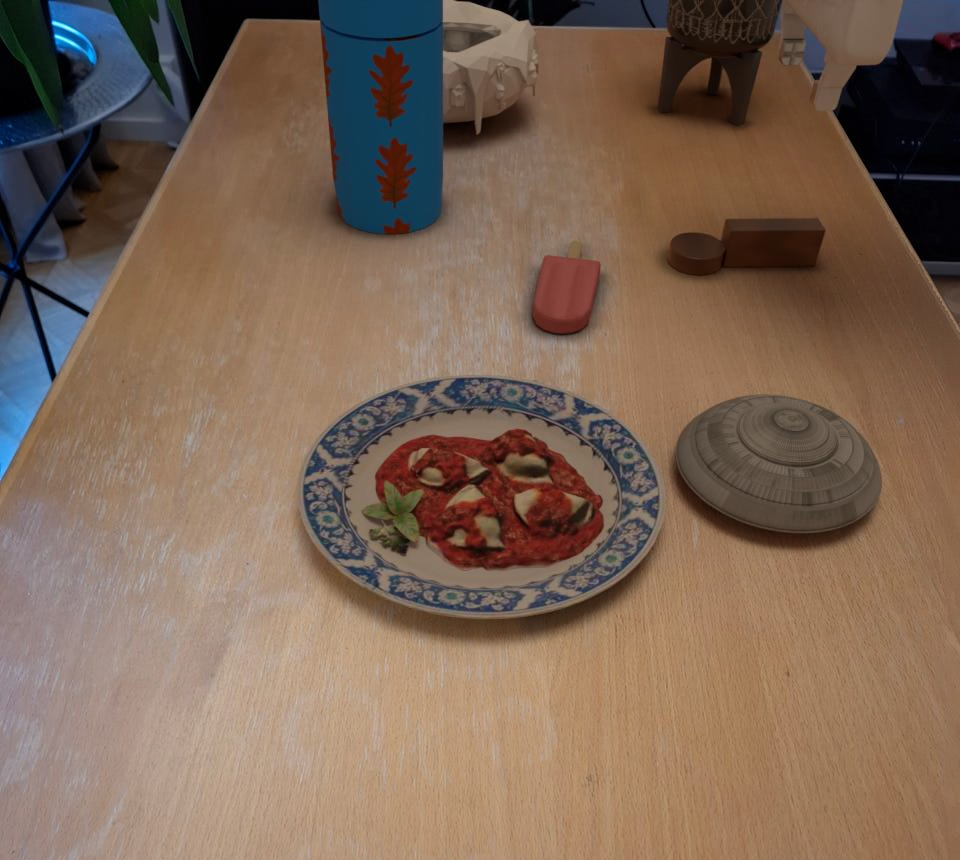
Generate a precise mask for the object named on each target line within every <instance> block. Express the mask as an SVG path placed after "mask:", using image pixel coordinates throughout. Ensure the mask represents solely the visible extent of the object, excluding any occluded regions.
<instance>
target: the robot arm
mask: <svg viewBox="0 0 960 860" xmlns="http://www.w3.org/2000/svg"><path fill="white" fill-rule="evenodd" d="M903 3H904V0H783V1H782V5H781V8H780V40H779V44H778V48H777V51H776V52H777V53H776V57H777V59H778V60H779V62H780V63H781V64H782V65H783V66H785V67H789V66H792V67H797V66H799V65H801V63H802V62H803V59H804V53H805V51H806V46H807V41H806V40H805V35H806V28H808V29H809V31H810V32H811V34H813V36H814V38H816V39H817V40H818V42H819V43H820V44H821V45H822V46H823V48H824V49H825V54H824V56H823V57H824V58H823V63H824V64H825V65H824V68H823V69H822V73H821V74H820V76H819V79H814V81H813V85H812V89H811V94H810V95H809V96H810V97H809V102H810V104H811V105H812V107H813V108H814V109H815V110H816V111H817V112H833V111H835V110H836V108H837V107H838V104H839V101H840V97H841V94H842V91H843V88H844V87H845V86H846V84H847V82H848V81H849V79H850V78H851V76H852V75H853V74H854V72H855V70H856V69H857V66H876V65H879V64H881V63H882V62H883V61H884V60H885V58H886V57H887V55H888V54H889V53H890V52H891V49H892V45H893V43H894V38H895V36H896V32H897V27H898V23H899V20H900V15H901V12H902V8H903Z"/></svg>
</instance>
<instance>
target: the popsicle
mask: <svg viewBox="0 0 960 860" xmlns="http://www.w3.org/2000/svg"><path fill="white" fill-rule="evenodd" d="M582 249H583V243H582V242H581V241H577V240H573V241H571V242H570V245H569V248H568V253H567V256H559V255H551V254H546V255H544V257H543V259H542V262H541V266H540V271H539V274H538V279H537V282H536V283H537V284H536V288H535V292H534V298H533V303H532V312H531V313H532V314H531V315H532V317H533V319H534V322H535V325H537V326H538V327H539V328H541V329H542V330H543V331H547V332H550V333H554V334H562V335H563V334H573V333H575V332H579V331H581V330H582V329H583V328H585V326H586V325H587V324H588V323H589V322H590V317H591V314H592V310H593V305H594V303H595V299H596V294H597V289H598V285H599V280H600V274H601V268H602V267H601V266H602V264H601V261H599V260H595V259H594V260H593V259H585V258H583V259H582V258H581V253H582Z"/></svg>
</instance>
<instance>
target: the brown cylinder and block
mask: <svg viewBox="0 0 960 860" xmlns="http://www.w3.org/2000/svg"><path fill="white" fill-rule="evenodd" d="M825 234H826V228H825V227H824V225H823V223H822V222H821V219H820V218H818V217H801V218H800V217H797V218H796V217H795V218H794V217H793V218H792V217H787V218H786V217H785V218H780V217H779V218H725V221H724V224H723V228H722V232H721V238H720V239H719V238H718V237H716V236H713V235H711V234H707V233H703V232H695V231H693V232H691V231H689V232H682V233H679V234H676V235H675V236H673V237H672V239H671V240H670V242H669V248H668V252H667V262H668V264H669V265H670V266H671V267H672V268H673V269H675V270H677V271H679V272H682V273H684V274H688V275H694V276H705V275H711V274H714V273H717V272H718V271H719V270H720V269H721V268H722V267H723V268H763V267H764V268H765V267H770V268H771V267H775V268H777V267H778V268H779V267H816V265H817V260H818V257H819V253H820V252H821V251H820V250H821V247H822V244H823V241H824V237H825Z"/></svg>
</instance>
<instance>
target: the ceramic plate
mask: <svg viewBox="0 0 960 860" xmlns="http://www.w3.org/2000/svg"><path fill="white" fill-rule="evenodd" d="M297 479H298V480H297V494H296V495H297V505H298V509H299V514H300V517H301V520H302V523H303V525H304V528H305V531H306V532H307V534H308V536H309V538H310V540H311V542H312V543H313V544H314V546H315V547H316V549H317V550H318V551H319V553H320V554H321V555H322V556H323V558H324V559H326V561H327V562H328V563H329V564H330V565H331V566H332V567H333V568H335V569H336V570H337V571H338V572H339V573H340V574H342V575H343V576H344V577H346V578H348V579H349V580H350V581H352V582H353V583H355V584H356V585H357V586H359V587H361V588H362V589H364V590H366V591H368V592H370V593H372V594H374V595H376V596H379V597H380V598H382V599H384V600H387V601H389V602H392V603H395V604H397V605H400V606H403V607H406V608H408V609H412V610H416V611H420V612H424V613H427V614H433V615H439V616H442V617H443V616H444V617H451V618H452V617H453V618H461V619H470V620H500V619H501V620H505V619H507V620H508V619H516V618H525V617H531V616H538V615H541V614H547V613H551V612H554V611H559V610H563V609H566V608H568V607H572V606H574V605H577V604H579V603H582V602H584V601H587V600H589V599H591V598H593V597H595V596H597V595H600V594H601V593H603V592H604V591H606V590H608V589H610V588H612V587H613V586H614V585H616V584H617V583H618V582H620V581H621V580H622V579H624V578H625V577H626V576H628V575H629V574H630V573H631V572H632V571H633V570H634V569H636V567H637V566H638V565H639V564H640V563H641V562H642V561H643V559H644V558H646V556H647V555H648V553H649V552H650V550H651V549H652V547H653V546H654V544H655V542H656V540H657V538H658V536H659V534H660V531H661V529H662V525H663V522H664V520H665V514H666V509H667V508H666V507H667V500H666V499H667V498H666V497H667V496H666V495H667V494H666V487H665V486H666V485H665V481H664V478H663V475H662V471H661V468H660V466H659V464H658V461H657V460H656V458H655V456H654V455H653V453H652V451H651V450H650V448H649V447H648V446H647V444H646V443H645V442H644V440H643V439H642V438H641V436H639V434H637V433H636V432H635V431H634V430H633V428H631V427H630V426H629V425H628V424H627V423H625V422H624V421H623V420H622V419H620V418H619V417H618V416H617V415H615V414H614V413H613V412H611V411H610V410H608V409H606V408H604V407H603V406H602V405H600V404H597V403H596V402H594V401H592V400H591V399H588V398H586V397H585V396H583V395H580V394H577V393H575V392H572V391H570V390H566V389H564V388H560V387H558V386H555V385H552V384H548V383H544V382H540V381H536V380H532V379H526V378H521V377H520V378H519V377H512V376H507V375H493V374H459V375H447V376H439V377H437V376H436V377H428V378H424V379H419V380H417V381H413V382H408V383H405V384H400V385H398V386H394V387H391V388H389V389H386V390H384V391H380V392H378V393H375V394H374V395H371V396H369V397H367V398H365V399H363V400H362V401H359V402H358V403H357V404H355V405H353V406H352V407H350V408H349V409H347V410H346V411H344V412H343V413H341V414H340V415H338V416H337V417H335V418H334V419H333V420H332V421H331V422H330V423H329V424H328V425H327V426H326V427H325V428H324V429H323V430H322V431H321V432H320V434H319V435H318V436H317V438H316V439H315V440H314V441H313V443H312V444H311V446H310V447H309V449H308V451H307V453H306V455H305V456H304V459H303V461H302V464H301V467H300V470H299V474H298V478H297Z"/></svg>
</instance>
